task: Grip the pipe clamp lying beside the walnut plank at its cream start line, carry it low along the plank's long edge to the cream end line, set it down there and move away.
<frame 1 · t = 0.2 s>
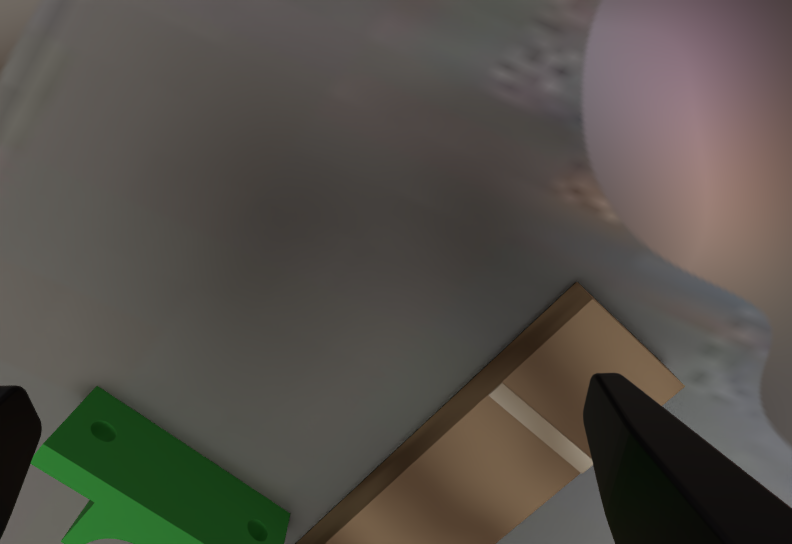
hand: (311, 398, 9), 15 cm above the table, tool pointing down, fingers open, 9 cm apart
walnut plank: (435, 488, 28), on the table
pipe clamp: (178, 469, 28), on the table
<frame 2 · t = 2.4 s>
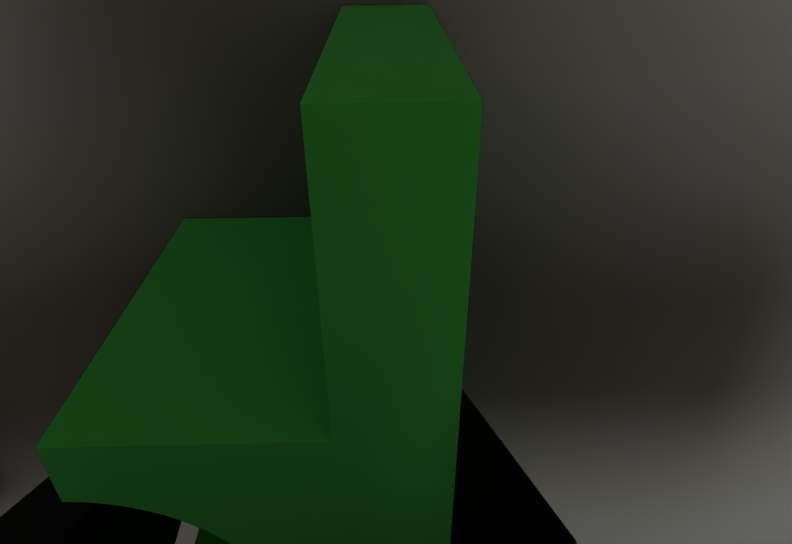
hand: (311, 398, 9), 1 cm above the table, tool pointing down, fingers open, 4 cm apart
pipe clamp: (325, 336, 10), on the table, touching gripper
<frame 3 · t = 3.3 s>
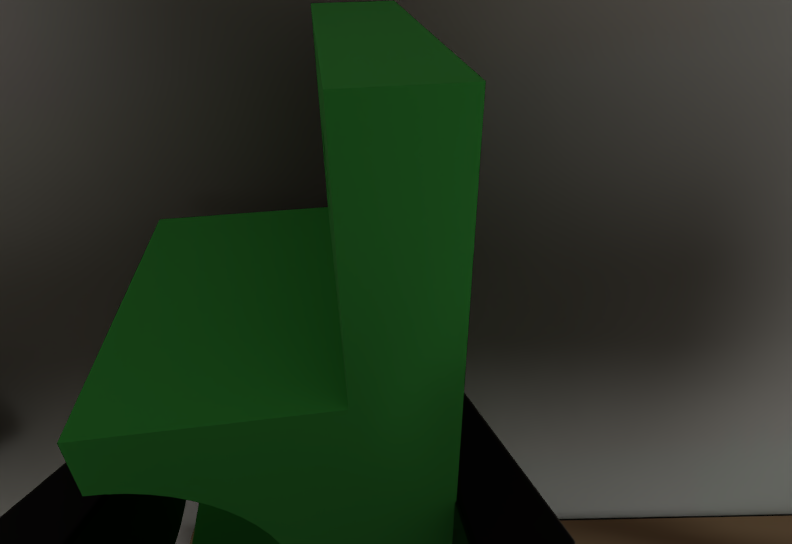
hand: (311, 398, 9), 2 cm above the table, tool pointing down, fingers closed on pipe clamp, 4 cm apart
pipe clamp: (304, 327, 11), point 1 cm above the table, touching gripper
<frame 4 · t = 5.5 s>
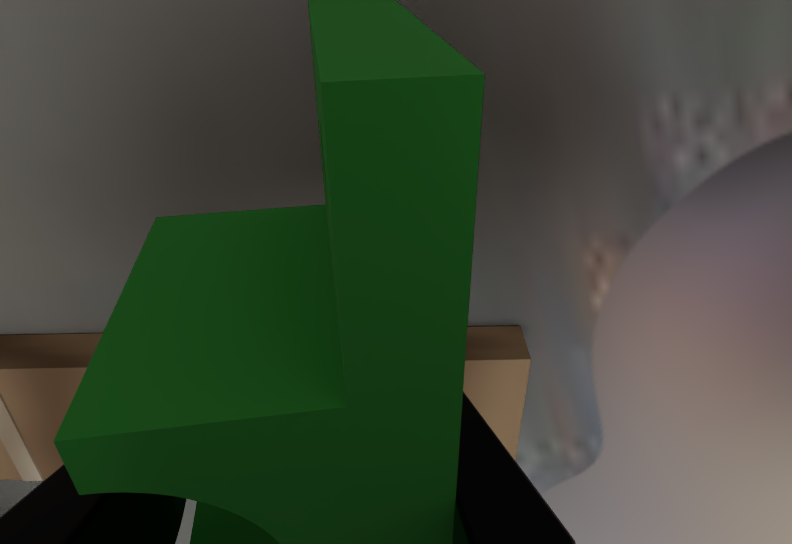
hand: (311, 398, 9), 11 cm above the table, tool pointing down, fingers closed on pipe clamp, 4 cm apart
walnut plank: (226, 388, 24), on the table
pipe clamp: (302, 325, 10), point 9 cm above the table, touching gripper
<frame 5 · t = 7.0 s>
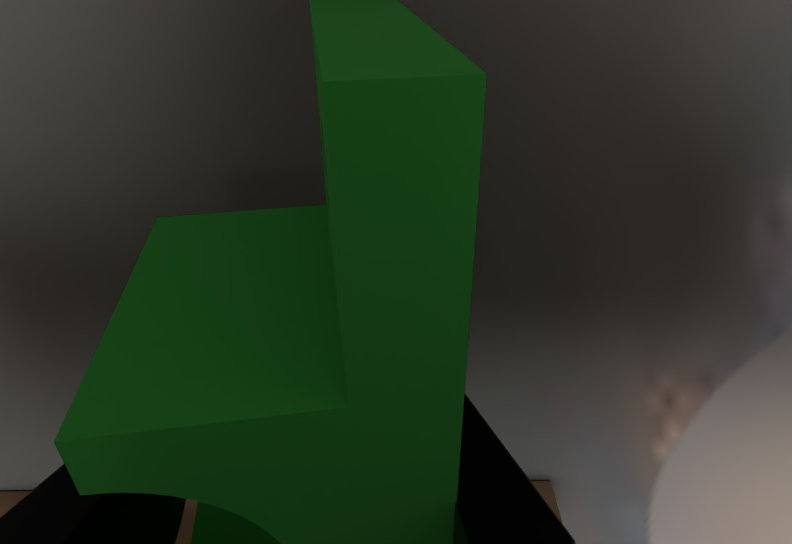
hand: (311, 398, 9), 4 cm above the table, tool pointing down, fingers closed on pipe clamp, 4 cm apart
pipe clamp: (302, 325, 10), point 2 cm above the table, touching gripper
when the fingers open (2 cm above the table, at t = 8.0 s): pipe clamp stays where it is, on the table.
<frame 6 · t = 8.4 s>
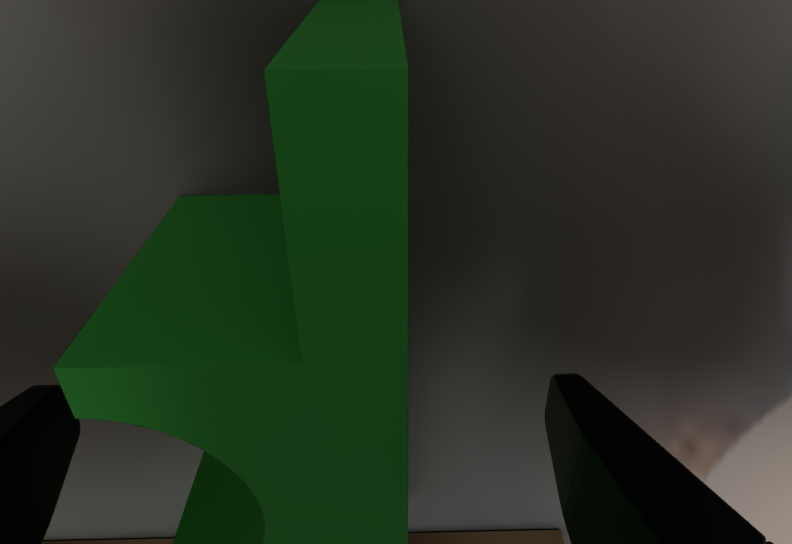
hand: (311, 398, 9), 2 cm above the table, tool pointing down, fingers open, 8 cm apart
pipe clamp: (312, 303, 11), on the table
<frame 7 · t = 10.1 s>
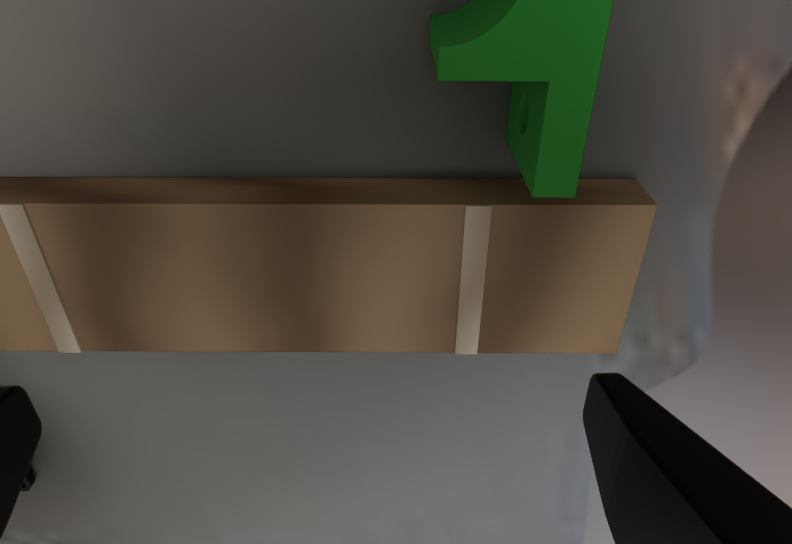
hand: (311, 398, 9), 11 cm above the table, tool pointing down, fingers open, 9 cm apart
walnut plank: (289, 253, 21), on the table
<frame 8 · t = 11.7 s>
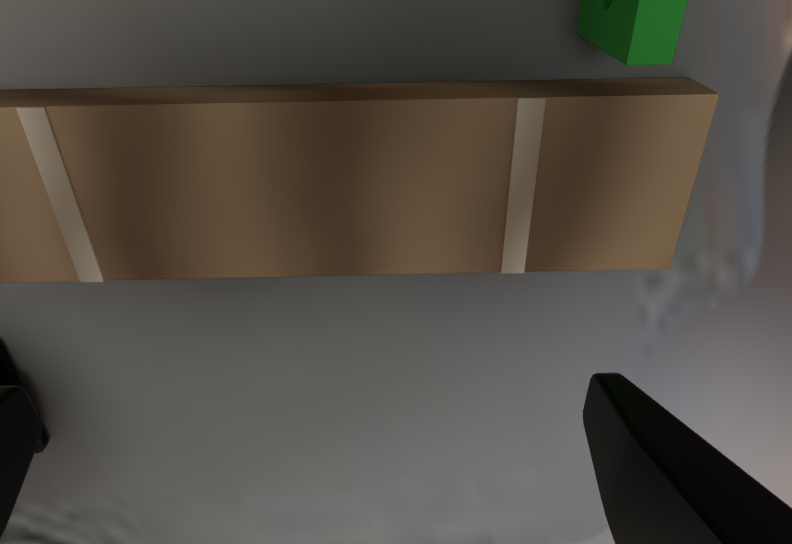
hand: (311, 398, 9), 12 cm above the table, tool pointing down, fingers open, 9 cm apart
walnut plank: (322, 172, 20), on the table
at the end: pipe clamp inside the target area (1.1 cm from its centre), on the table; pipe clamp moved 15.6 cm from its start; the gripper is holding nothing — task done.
